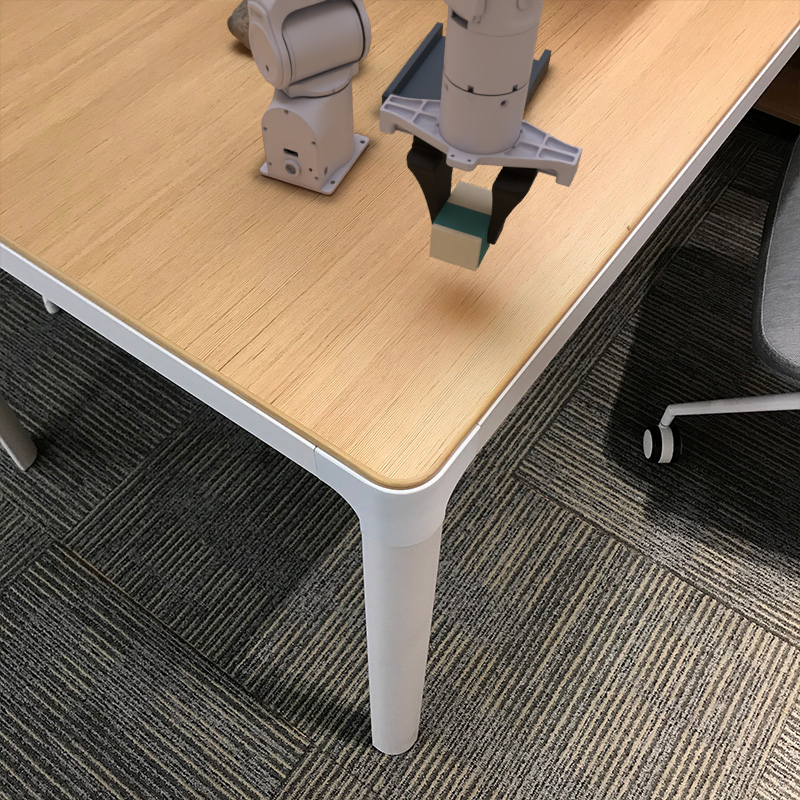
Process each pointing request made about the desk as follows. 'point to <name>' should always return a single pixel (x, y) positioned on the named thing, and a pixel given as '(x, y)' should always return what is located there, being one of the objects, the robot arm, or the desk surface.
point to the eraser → (462, 227)
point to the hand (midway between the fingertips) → (466, 227)
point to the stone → (240, 23)
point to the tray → (427, 71)
